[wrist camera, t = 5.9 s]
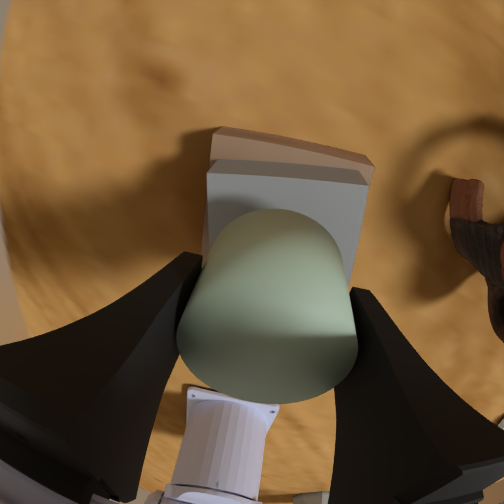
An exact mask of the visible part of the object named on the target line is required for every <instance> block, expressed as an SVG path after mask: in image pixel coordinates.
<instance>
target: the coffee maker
mask: <svg viewBox="0 0 504 504" xmlns="http://www.w3.org/2000/svg"><path fill="white" fill-rule="evenodd" d="M329 493H330V492H323V491H322V492H311V493H302V494H299V495H297V496H294V497H293V504H328V499H329Z"/></svg>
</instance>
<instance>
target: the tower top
mask: <svg viewBox="0 0 504 504" xmlns="http://www.w3.org/2000/svg"><path fill="white" fill-rule="evenodd" d="M368 189H369V185H368V184H367V182H366V181H365V179H364V178H363V176H362V174H361V173H360V171H359V170H352V169H344V168H335V167H325V166H315V165H304V164H292V163H279V162H265V161H247V160H224V159H218V160H217V161H216V162H215V164H214V165H213V166H212V167H211V168H210V170H209V171H208V172H207V201H208V227H209V249H210V250H211V247H212V245H213V243H214V241H215V239H216V237H217V236H218V234H219V233H220V232H221V231H222V229H223V228H224V227H225V226H227V225H228V224H229V223H230V222H232V221H233V220H235V219H236V218H238V217H240V216H242V215H244V214H247V213H250V212H253V211H257V210H262V209H285V210H291V211H295V212H298V213H301V214H303V215H306V216H308V217H310V218H312V219H313V220H315V221H317V222H318V223H319V224H321V225H322V226H323V227H324V228H325V229H326V230H327V231H328V232H329V233H330V234H331V236H332V237H333V239H334V240H335V242H336V244H337V246H338V248H339V251H340V254H341V258H342V262H343V267H344V271H345V276H346V281H347V286H348V285H349V281H350V277H351V273H352V268H353V264H354V260H355V255H356V251H357V246H358V241H359V237H360V232H361V227H362V222H363V216H364V211H365V206H366V200H367V195H368Z"/></svg>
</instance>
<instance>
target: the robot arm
mask: <svg viewBox="0 0 504 504" xmlns="http://www.w3.org/2000/svg"><path fill="white" fill-rule="evenodd" d="M202 260H203V255H198V254H194V253H189V252H183V253H181V254H180V255H179V256H178V257H176V258H175V259H174V260H172V261H171V262H170V263H169V264H167V265H166V266H165V267H164V268H162V269H161V270H160V271H158V272H157V273H156V274H154V275H153V276H152V277H150V278H149V279H148V280H146V281H145V282H143V283H142V284H141V285H139V286H138V287H136V288H135V289H133V290H132V291H130V292H129V293H127V294H126V295H124V296H123V297H121V298H120V299H118V300H116V301H115V302H113V303H111V304H110V305H108V306H106V307H104V308H102V309H100V310H99V311H97V312H95V313H93V314H91V315H89V316H87V317H84V318H82V319H80V320H77V321H75V322H73V323H71V324H68V325H66V326H64V327H61V328H59V329H56V330H53V331H51V332H48V333H45V334H42V335H39V336H36V337H33V338H29V339H26V340H22V341H18V342H14V343H10V344H6V345H1V346H0V504H118V503H116V502H113V501H110V500H109V499H112V500H115V501H117V502H123V503H128V502H130V501H133V500H135V499H136V495H137V490H138V486H139V481H140V476H141V472H142V467H143V463H144V459H145V455H146V451H147V447H148V443H149V439H150V436H151V432H152V428H153V425H154V421H155V418H156V414H157V411H158V408H159V404H160V401H161V398H162V394H163V392H164V389H165V386H166V384H167V381H168V379H169V377H170V375H171V372H172V370H173V368H174V365H175V363H176V361H177V359H178V356H179V354H180V353H179V350H178V346H177V338H176V335H177V328H178V325H179V323H180V320H181V317H182V315H183V313H184V310H185V308H186V305H187V303H188V301H189V298H190V296H191V294H192V291H193V289H194V287H195V284H196V282H197V280H198V277H199V275H200V273H201V270H202ZM349 296H350V301H351V306H352V312H353V317H354V322H355V328H356V334H357V340H358V353H357V358H356V361H355V364H354V366H353V368H352V369H351V371H350V372H349V374H348V375H347V376H346V377H345V378H344V379H343V380H342V381H341V382H340V383H339V384H338V385H336V386H335V387H334V393H335V405H336V442H335V455H334V465H333V473H332V480H331V487H330V493H329V499H328V504H478V502H480V501H482V500H483V498H484V496H483V489H485V488H486V487H488V486H490V485H491V484H493V483H495V482H496V481H498V480H500V479H501V478H503V477H504V430H503V429H502V428H500V427H498V426H497V425H495V424H494V423H492V422H491V421H489V420H488V419H487V418H485V417H484V416H483V415H481V414H480V413H479V412H477V411H476V410H475V409H473V408H472V407H471V406H470V405H469V404H467V403H466V402H465V401H464V400H463V399H462V398H460V397H459V396H458V395H457V394H456V393H455V392H454V391H453V390H452V389H451V388H450V387H449V386H448V385H446V384H445V383H444V382H443V381H442V380H441V378H440V377H439V376H438V375H437V374H436V373H435V372H434V371H433V370H432V369H431V368H430V367H429V366H428V365H427V363H426V362H425V361H424V360H423V359H422V358H421V356H420V355H419V354H418V353H417V351H416V350H415V349H414V348H413V347H412V345H411V344H410V343H409V342H408V340H407V339H406V338H405V336H404V335H403V334H402V333H401V331H400V330H399V329H398V327H397V326H396V325H395V323H394V322H393V320H392V319H391V318H390V316H389V315H388V314H387V312H386V311H385V310H384V308H383V307H382V306H381V304H380V303H379V302H378V300H377V299H376V298H375V296H374V295H373V294H372V293H371V292H370V290H366V289H361V288H356V287H352V289H351V291H350V293H349ZM278 411H279V405H278V404H262V403H254V402H248V401H244V400H240V399H236V398H233V397H230V396H228V395H225V394H223V393H219V392H214V391H210V390H206V389H201V388H197V387H193V386H191V387H188V390H187V413H186V429H185V433H184V436H183V440H182V443H181V447H180V451H179V454H178V458H177V462H176V465H175V469H174V472H173V476H172V480H171V484H166V488H165V491H162V490H156V491H155V492H153V493H151V494H149V496H148V497H147V499H146V501H145V503H144V504H262V502H260V501H258V493H259V485H260V478H261V470H262V461H263V453H264V444H265V436H266V434H267V432H268V430H269V428H270V426H271V424H272V422H273V421H274V419H275V417H276V415H277V413H278ZM499 504H504V501H503V502H501V503H499Z"/></svg>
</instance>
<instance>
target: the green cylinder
mask: <svg viewBox="0 0 504 504" xmlns="http://www.w3.org/2000/svg"><path fill="white" fill-rule="evenodd" d="M176 338H177V346H178V350H179V353H180V355H181V358H182V360H183V361H184V363H185V364H186V366H187V367H188V368H189V370H190V371H191V372H192V373H193V374H194V375H195V376H196V377H197V378H198V379H200V380H201V381H202V382H204V383H205V384H206V385H208V386H210V387H211V388H213V389H215V390H217V391H219V392H221V393H223V394H225V395H228V396H230V397H233V398H236V399H240V400H244V401H248V402H254V403H262V404H286V403H294V402H300V401H304V400H308V399H311V398H314V397H317V396H319V395H321V394H323V393H325V392H327V391H329V390H331V389H332V388H334V387H335V386H336V385H338V384H339V383H340V382H341V381H342V380H343V379H344V378H345V377H346V376H347V375H348V374H349V372H350V371H351V369H352V368H353V366H354V364H355V361H356V358H357V353H358V340H357V334H356V328H355V322H354V317H353V312H352V306H351V301H350V296H349V291H348V286H347V281H346V276H345V271H344V267H343V262H342V258H341V254H340V251H339V248H338V246H337V244H336V242H335V240H334V239H333V237H332V236H331V234H330V233H329V232H328V231H327V230H326V229H325V228H324V227H323V226H322V225H321V224H319V223H318V222H317V221H315V220H313V219H312V218H310V217H308V216H306V215H303V214H301V213H298V212H295V211H291V210H285V209H262V210H257V211H253V212H250V213H247V214H244V215H242V216H240V217H238V218H236V219H235V220H233V221H232V222H230V223H229V224H228V225H227V226H225V227H224V228H223V229H222V231H221V232H220V233H219V234H218V236H217V237H216V239H215V241H214V243H213V245H212V247H211V250H210V252H209V254H208V256H207V259H206V261H205V263H204V266H203V268H202V270H201V273H200V275H199V277H198V280H197V282H196V284H195V287H194V289H193V291H192V294H191V296H190V298H189V301H188V303H187V305H186V308H185V310H184V313H183V315H182V317H181V320H180V323H179V325H178V328H177V335H176Z"/></svg>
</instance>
